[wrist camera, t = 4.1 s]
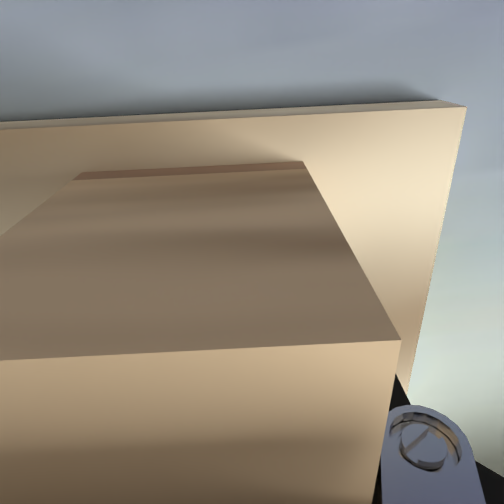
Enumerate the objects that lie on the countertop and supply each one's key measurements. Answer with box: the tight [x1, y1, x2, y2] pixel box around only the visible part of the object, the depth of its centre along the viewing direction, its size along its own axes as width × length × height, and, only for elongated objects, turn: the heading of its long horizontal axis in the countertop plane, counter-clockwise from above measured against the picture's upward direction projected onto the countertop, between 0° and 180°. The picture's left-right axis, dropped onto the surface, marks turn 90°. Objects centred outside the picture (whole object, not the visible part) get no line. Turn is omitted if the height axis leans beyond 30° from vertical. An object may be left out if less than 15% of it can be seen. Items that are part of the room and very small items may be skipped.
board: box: [0, 100, 467, 395], centre depth 14 cm, size 24×12×1 cm, turn 2°
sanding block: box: [0, 161, 402, 504], centre depth 8 cm, size 8×5×6 cm, turn 3°
